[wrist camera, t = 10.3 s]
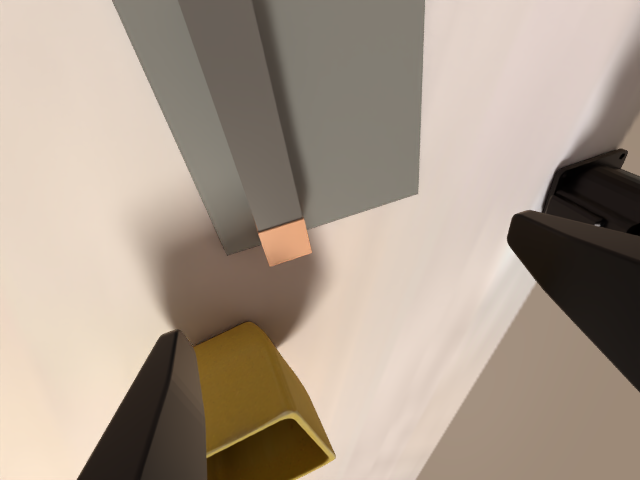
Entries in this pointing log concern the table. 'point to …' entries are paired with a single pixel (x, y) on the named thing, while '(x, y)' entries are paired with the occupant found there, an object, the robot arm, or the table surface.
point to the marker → (249, 119)
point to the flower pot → (256, 411)
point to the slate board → (299, 104)
